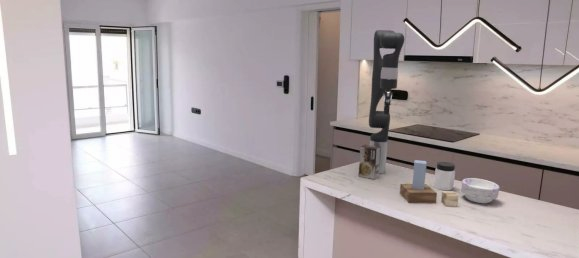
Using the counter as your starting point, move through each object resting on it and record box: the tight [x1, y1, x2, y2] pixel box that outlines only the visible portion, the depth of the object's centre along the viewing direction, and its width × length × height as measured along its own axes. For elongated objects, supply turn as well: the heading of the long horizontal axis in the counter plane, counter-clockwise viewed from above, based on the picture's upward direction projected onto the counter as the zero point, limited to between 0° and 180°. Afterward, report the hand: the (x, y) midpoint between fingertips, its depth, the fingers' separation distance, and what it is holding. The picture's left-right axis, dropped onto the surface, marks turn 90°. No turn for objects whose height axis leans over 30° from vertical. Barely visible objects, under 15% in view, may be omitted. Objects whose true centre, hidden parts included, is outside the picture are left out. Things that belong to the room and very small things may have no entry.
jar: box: [433, 161, 456, 191], centre depth 194 cm, size 9×8×12 cm
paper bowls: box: [460, 177, 500, 204], centre depth 179 cm, size 15×15×8 cm
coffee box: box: [358, 144, 381, 180], centre depth 208 cm, size 9×6×16 cm
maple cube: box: [440, 190, 459, 207], centre depth 173 cm, size 5×5×5 cm
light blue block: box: [411, 159, 427, 190], centre depth 178 cm, size 5×5×12 cm
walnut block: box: [399, 183, 438, 204], centre depth 179 cm, size 12×12×5 cm
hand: (386, 113), depth 185 cm, fingers open, 8 cm apart
